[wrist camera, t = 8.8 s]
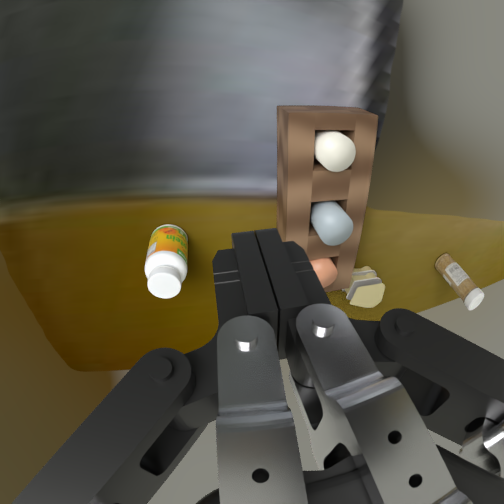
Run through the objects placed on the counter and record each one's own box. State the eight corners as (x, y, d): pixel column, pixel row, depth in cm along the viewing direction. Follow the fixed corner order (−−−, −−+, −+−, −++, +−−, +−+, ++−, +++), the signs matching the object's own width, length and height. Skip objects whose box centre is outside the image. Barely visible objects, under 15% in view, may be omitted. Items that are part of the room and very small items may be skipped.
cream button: (305, 125, 33) (321, 135, 29) (338, 125, 33) (357, 135, 29) (304, 158, 35) (319, 172, 31) (336, 157, 36) (353, 171, 32)
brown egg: (299, 246, 43) (310, 267, 40) (327, 242, 44) (339, 262, 40) (298, 268, 46) (307, 290, 42) (324, 264, 47) (335, 285, 43)
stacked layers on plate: (325, 294, 53) (336, 316, 49) (341, 255, 48) (354, 276, 44) (368, 292, 56) (380, 312, 51) (386, 256, 50) (400, 276, 46)
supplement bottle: (195, 236, 41) (196, 282, 33) (174, 260, 43) (171, 308, 35) (164, 216, 38) (156, 260, 31) (143, 243, 40) (133, 290, 32)
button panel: (276, 105, 32) (288, 112, 28) (358, 107, 33) (378, 115, 29) (275, 277, 48) (283, 299, 44) (337, 268, 49) (349, 287, 45)
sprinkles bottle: (432, 271, 55) (466, 314, 45) (436, 255, 53) (473, 298, 42) (447, 265, 56) (480, 306, 45) (451, 249, 53) (487, 290, 42)
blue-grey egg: (307, 196, 37) (321, 216, 33) (339, 194, 37) (355, 213, 33) (305, 226, 39) (318, 247, 35) (335, 222, 40) (350, 243, 36)
